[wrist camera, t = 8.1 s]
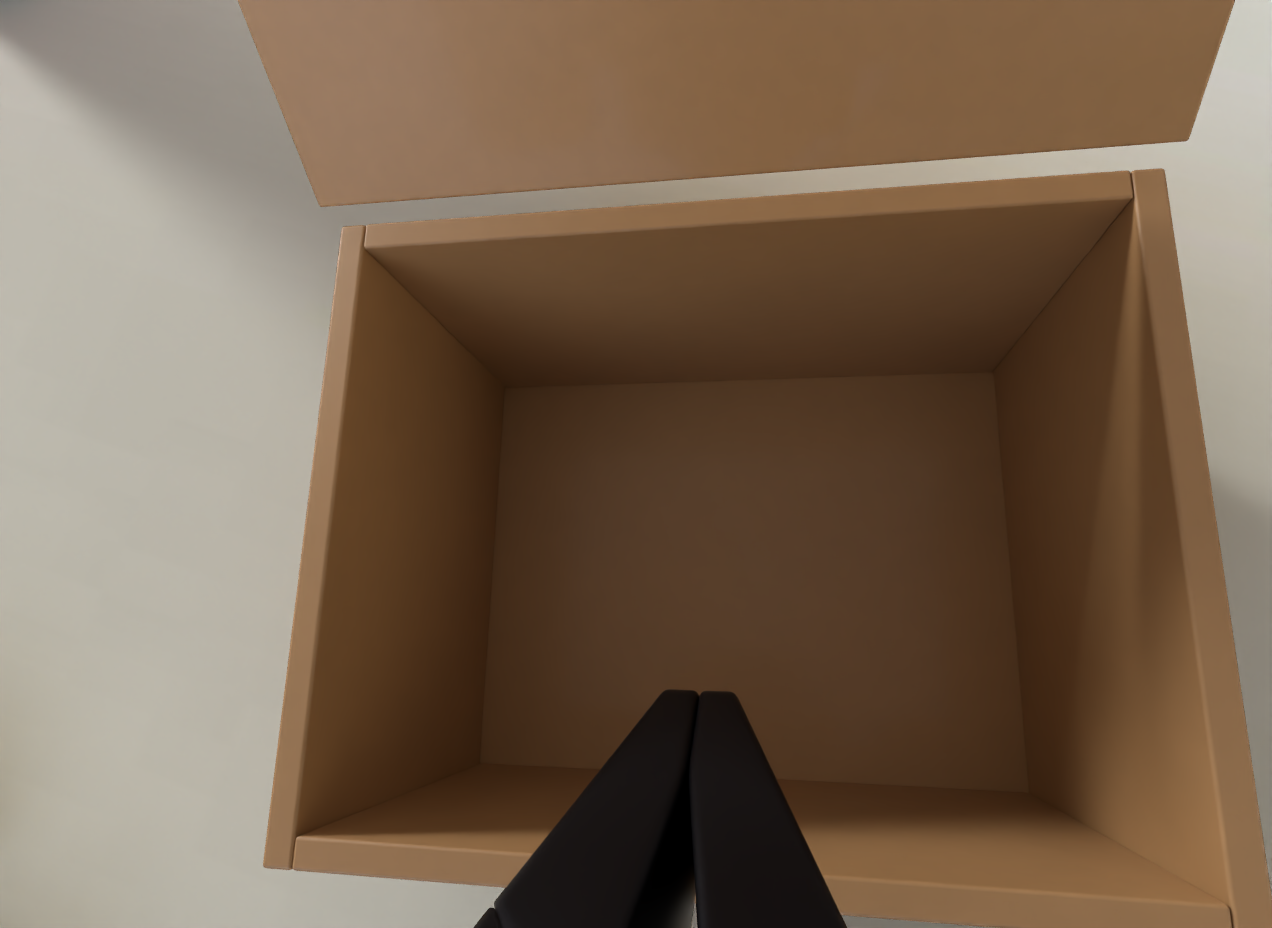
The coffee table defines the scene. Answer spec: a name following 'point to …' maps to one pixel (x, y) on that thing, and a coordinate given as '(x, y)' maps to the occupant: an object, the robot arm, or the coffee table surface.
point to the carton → (781, 545)
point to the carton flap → (713, 86)
